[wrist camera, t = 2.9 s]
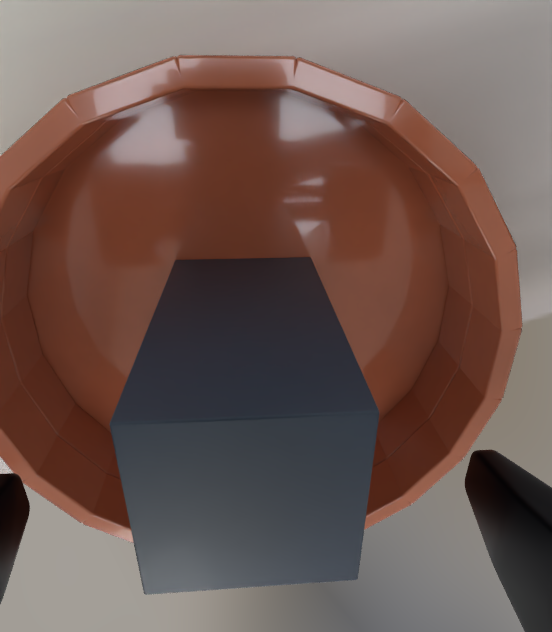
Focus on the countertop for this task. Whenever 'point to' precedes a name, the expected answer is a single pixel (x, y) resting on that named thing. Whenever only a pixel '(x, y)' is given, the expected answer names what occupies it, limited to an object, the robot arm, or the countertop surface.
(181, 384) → the block
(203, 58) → the bowl
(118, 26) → the countertop surface
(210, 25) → the countertop surface
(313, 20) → the countertop surface
